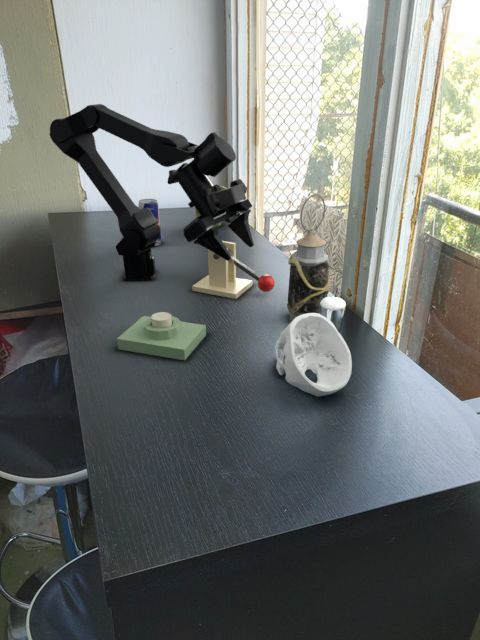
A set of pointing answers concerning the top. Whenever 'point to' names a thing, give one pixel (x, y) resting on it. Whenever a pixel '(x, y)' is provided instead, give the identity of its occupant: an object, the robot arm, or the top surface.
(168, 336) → the block
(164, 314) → the button
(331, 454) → the top surface
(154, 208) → the energy drink
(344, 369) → the skull bowl
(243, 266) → the lever
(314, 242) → the lantern
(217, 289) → the bracket
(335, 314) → the milkshake
